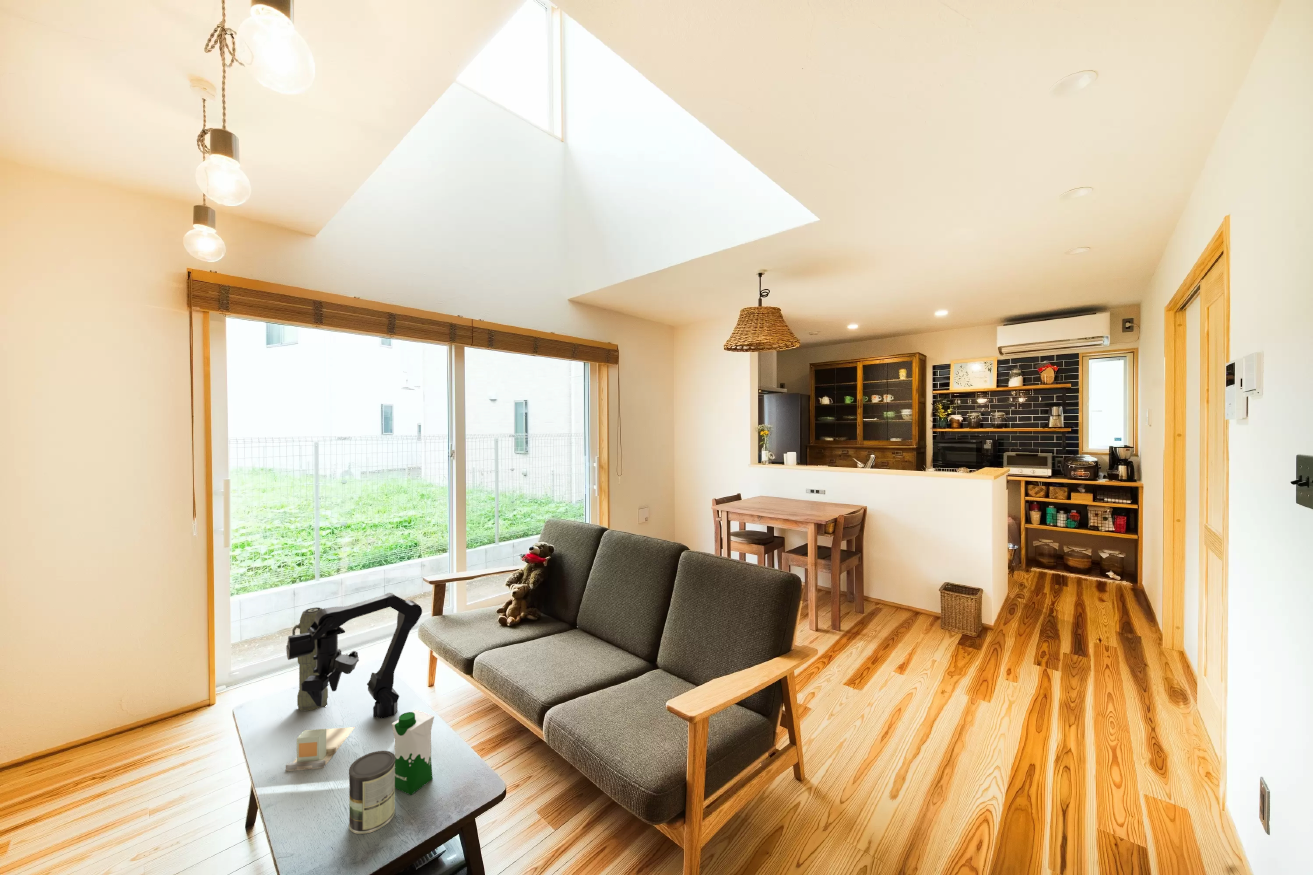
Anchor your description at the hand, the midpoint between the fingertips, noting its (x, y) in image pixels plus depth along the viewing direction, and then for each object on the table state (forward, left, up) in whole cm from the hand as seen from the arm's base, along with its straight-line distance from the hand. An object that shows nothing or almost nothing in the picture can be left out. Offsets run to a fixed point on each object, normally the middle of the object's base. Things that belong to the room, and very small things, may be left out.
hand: (327, 698), depth 159 cm
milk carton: (-34, +25, -13) cm, 44 cm away
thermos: (+14, -20, -13) cm, 28 cm away
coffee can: (-28, +37, -13) cm, 48 cm away
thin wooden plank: (-2, +7, -13) cm, 15 cm away
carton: (-2, +13, -12) cm, 18 cm away
